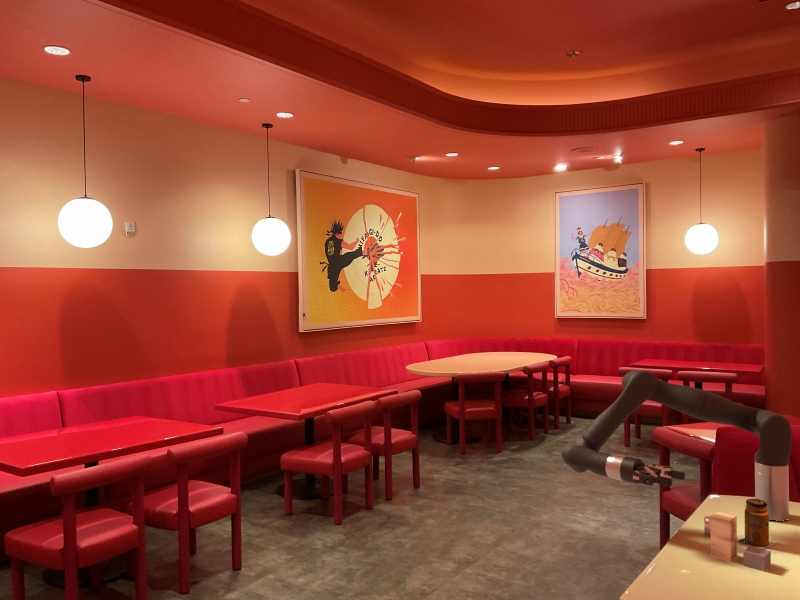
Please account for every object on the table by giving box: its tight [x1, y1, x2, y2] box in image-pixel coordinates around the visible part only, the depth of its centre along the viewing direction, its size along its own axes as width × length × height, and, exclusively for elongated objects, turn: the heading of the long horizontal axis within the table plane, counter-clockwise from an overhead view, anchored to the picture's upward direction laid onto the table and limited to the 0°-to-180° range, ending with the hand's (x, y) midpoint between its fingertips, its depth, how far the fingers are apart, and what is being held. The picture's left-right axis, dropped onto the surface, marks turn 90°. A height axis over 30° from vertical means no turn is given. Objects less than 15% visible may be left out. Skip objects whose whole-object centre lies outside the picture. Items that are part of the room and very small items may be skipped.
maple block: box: [709, 511, 738, 563], centre depth 172 cm, size 5×5×11 cm
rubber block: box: [742, 546, 772, 573], centre depth 166 cm, size 5×5×4 cm
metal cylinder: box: [703, 515, 711, 538], centre depth 187 cm, size 4×4×5 cm
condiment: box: [737, 498, 776, 550], centre depth 180 cm, size 7×8×12 cm
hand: (678, 479), depth 181 cm, fingers open, 8 cm apart
